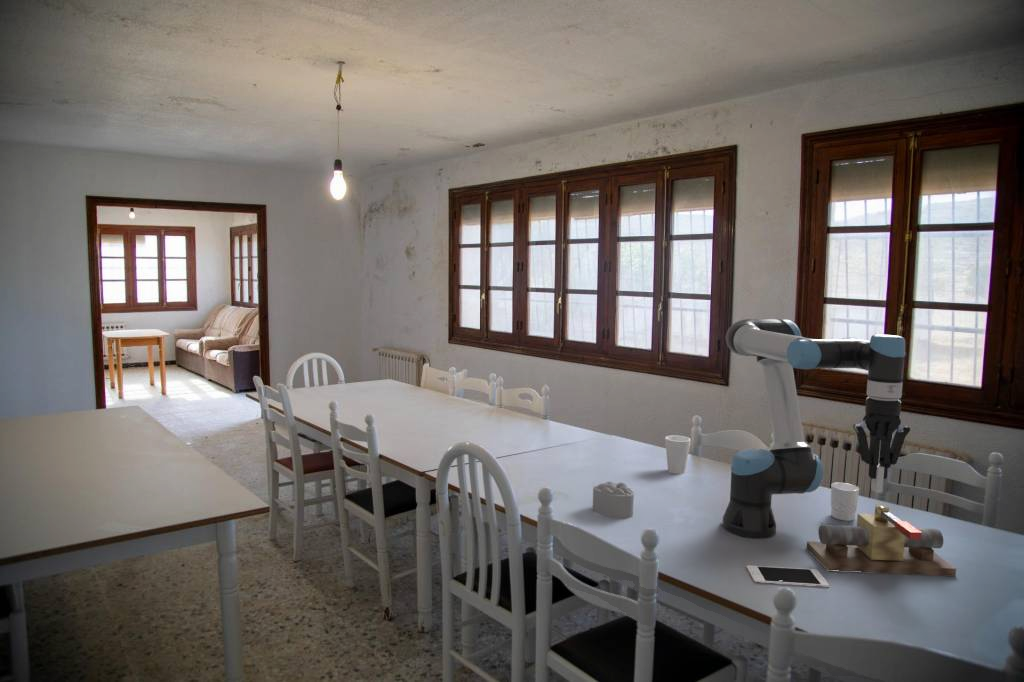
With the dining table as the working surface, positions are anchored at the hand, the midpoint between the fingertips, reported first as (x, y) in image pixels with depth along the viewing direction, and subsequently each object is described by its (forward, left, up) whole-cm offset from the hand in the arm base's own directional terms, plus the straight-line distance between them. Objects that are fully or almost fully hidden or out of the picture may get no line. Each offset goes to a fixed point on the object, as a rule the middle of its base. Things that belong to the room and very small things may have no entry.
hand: (876, 490), depth 162 cm
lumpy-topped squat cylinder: (-60, +41, -23) cm, 76 cm away
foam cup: (-32, +84, -23) cm, 93 cm away
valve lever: (+7, +3, -11) cm, 14 cm away
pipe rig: (+7, +10, -23) cm, 26 cm away
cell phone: (-21, -1, -24) cm, 32 cm away
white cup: (+12, +42, -23) cm, 50 cm away
